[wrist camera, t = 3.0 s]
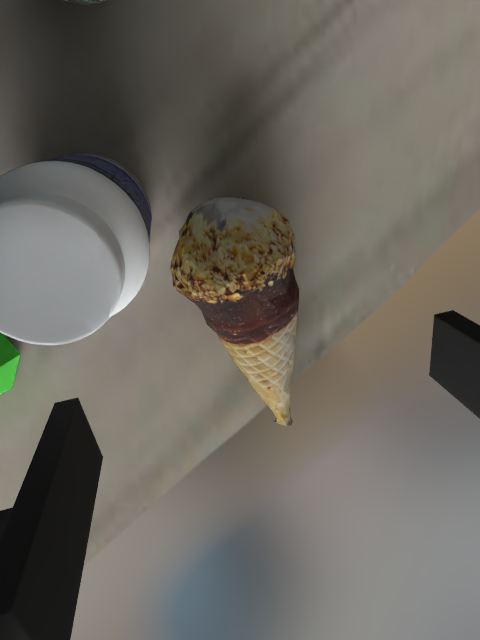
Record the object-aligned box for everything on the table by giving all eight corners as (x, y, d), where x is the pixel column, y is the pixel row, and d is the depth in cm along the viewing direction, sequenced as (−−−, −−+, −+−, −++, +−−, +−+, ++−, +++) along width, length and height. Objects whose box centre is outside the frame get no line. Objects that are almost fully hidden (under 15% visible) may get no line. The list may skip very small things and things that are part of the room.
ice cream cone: (264, 481, 22) (174, 256, 13) (223, 416, 27) (135, 215, 18) (350, 426, 24) (320, 190, 15) (297, 373, 28) (250, 167, 19)
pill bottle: (30, 142, 17) (-102, 145, 8) (156, 163, 18) (156, 185, 9) (35, 261, 19) (-66, 364, 10) (147, 272, 20) (142, 372, 12)
